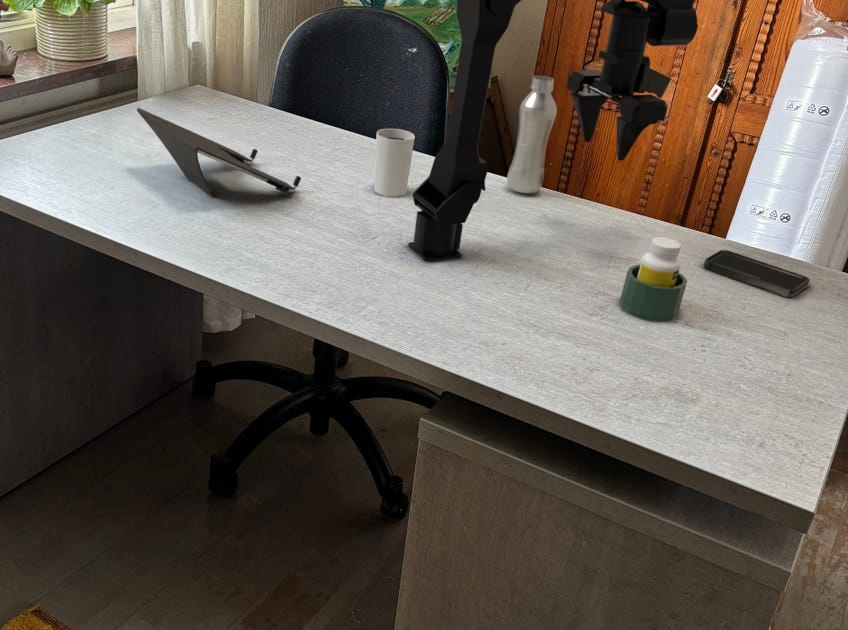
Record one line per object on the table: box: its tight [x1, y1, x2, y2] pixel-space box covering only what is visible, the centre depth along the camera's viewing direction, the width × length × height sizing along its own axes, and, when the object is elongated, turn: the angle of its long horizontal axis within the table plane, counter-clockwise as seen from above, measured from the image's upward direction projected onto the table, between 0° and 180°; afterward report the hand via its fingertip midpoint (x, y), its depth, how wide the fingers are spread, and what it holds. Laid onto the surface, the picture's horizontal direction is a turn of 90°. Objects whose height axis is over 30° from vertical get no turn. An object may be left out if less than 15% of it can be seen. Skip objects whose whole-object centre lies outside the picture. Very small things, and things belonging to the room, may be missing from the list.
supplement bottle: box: [637, 236, 682, 287], centre depth 139 cm, size 5×5×10 cm
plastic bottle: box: [506, 75, 558, 194], centre depth 174 cm, size 6×7×20 cm
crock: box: [619, 264, 688, 322], centre depth 141 cm, size 8×8×5 cm
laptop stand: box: [136, 107, 302, 197], centre depth 168 cm, size 23×23×9 cm
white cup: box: [373, 128, 416, 198], centre depth 172 cm, size 7×7×10 cm
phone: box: [703, 249, 811, 298], centre depth 155 cm, size 8×1×15 cm
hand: (603, 150), depth 155 cm, fingers open, 9 cm apart
